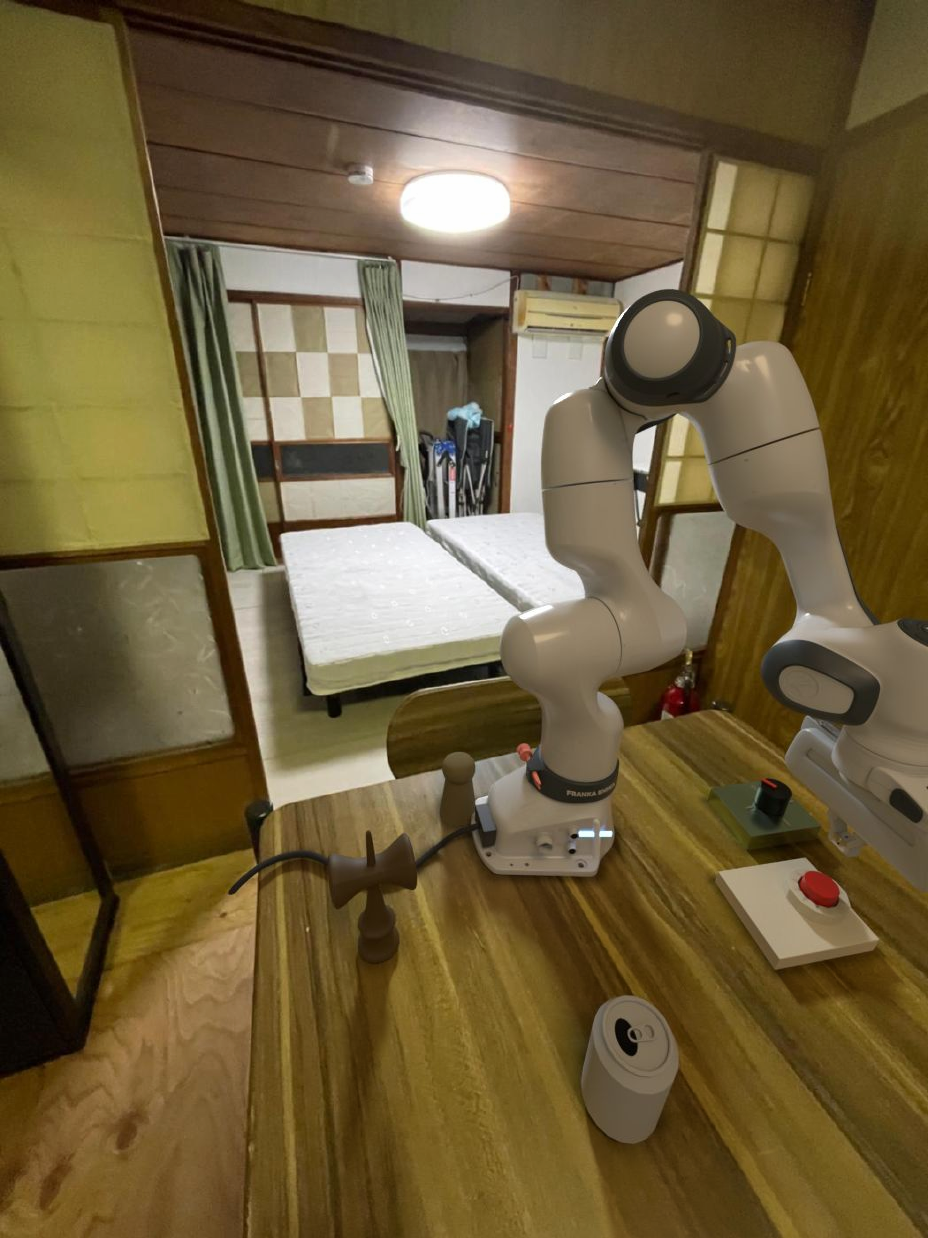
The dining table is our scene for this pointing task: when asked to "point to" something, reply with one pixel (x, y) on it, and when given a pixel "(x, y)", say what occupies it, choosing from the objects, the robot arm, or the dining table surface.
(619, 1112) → the can
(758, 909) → the white button base
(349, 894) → the kendama
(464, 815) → the brown wooden peg doll
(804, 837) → the dial plate
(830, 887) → the power button
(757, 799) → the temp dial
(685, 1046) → the dining table surface
